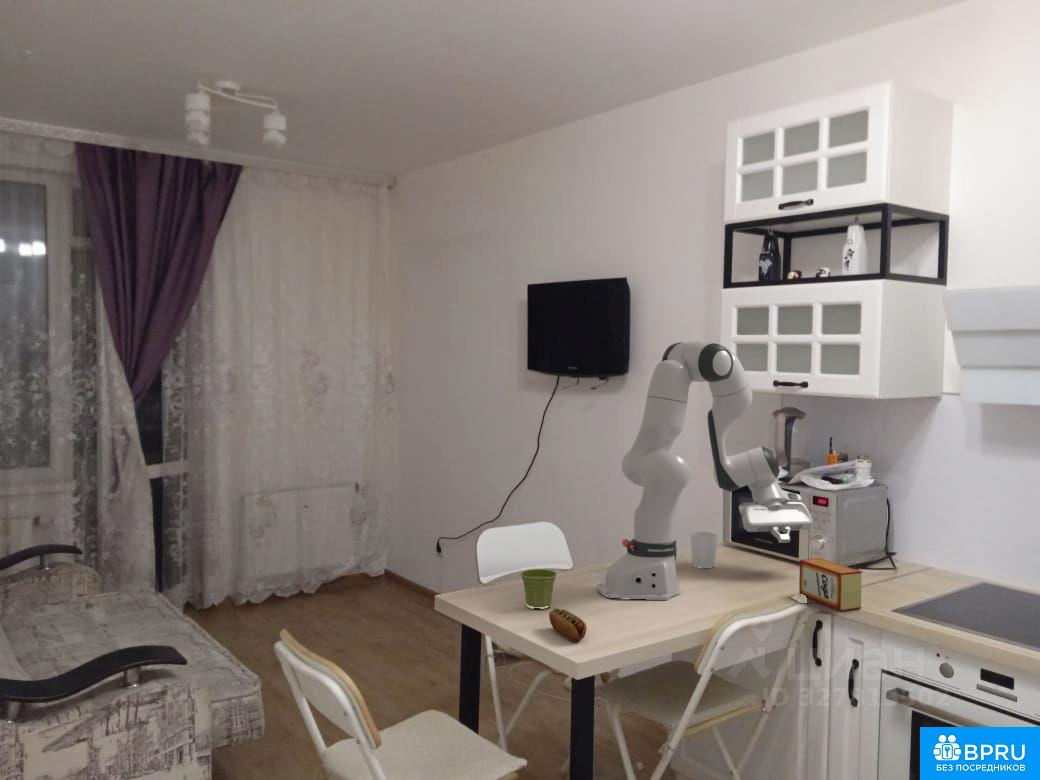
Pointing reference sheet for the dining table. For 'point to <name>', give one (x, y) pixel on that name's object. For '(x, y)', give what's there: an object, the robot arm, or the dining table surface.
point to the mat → (811, 601)
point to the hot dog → (568, 624)
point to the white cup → (703, 549)
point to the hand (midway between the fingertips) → (784, 541)
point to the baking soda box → (830, 584)
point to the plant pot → (538, 586)
